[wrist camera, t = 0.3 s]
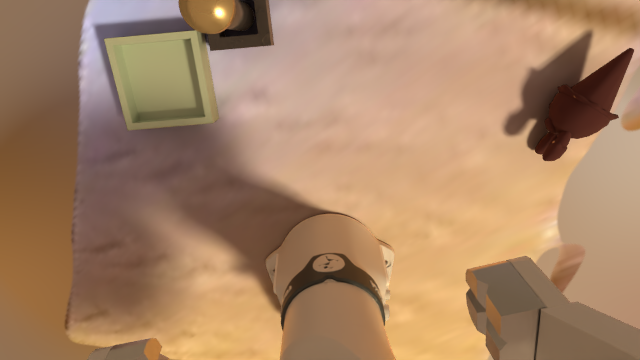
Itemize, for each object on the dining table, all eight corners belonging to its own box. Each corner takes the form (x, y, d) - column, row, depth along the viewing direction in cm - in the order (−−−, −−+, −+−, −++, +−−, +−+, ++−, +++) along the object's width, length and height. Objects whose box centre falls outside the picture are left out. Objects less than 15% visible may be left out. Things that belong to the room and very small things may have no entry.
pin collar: (273, 45, 47) (271, 45, 44) (216, 50, 47) (210, 50, 44) (266, -19, 44) (262, -24, 42) (206, -14, 45) (198, -17, 42)
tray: (219, 118, 50) (213, 123, 47) (138, 125, 50) (127, 130, 47) (203, 31, 46) (196, 30, 43) (116, 39, 46) (103, 38, 44)
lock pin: (261, 34, 46) (236, 31, 32) (225, 37, 46) (184, 35, 32) (256, -6, 45) (228, -28, 31) (219, -2, 45) (173, -23, 31)
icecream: (617, 29, 40) (521, 147, 46) (680, 65, 40) (575, 180, 46) (591, 33, 47) (509, 136, 52) (645, 65, 46) (557, 165, 52)
